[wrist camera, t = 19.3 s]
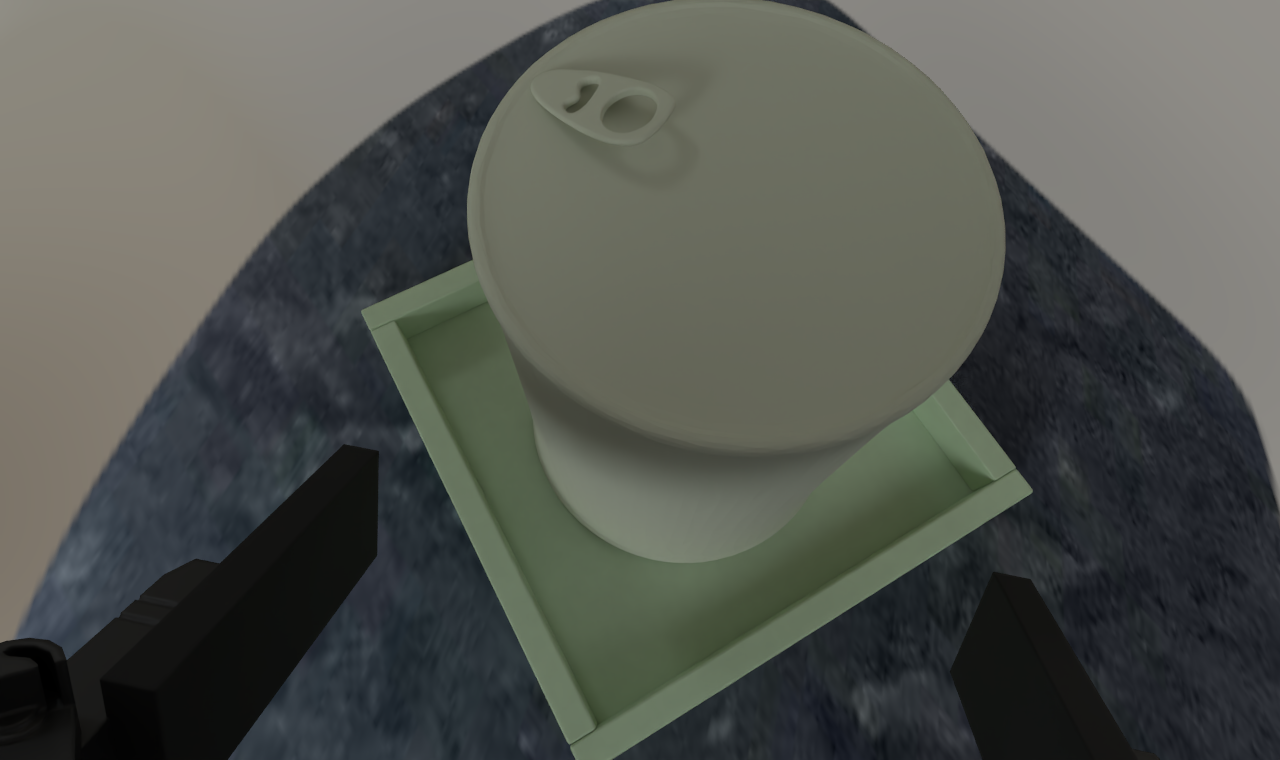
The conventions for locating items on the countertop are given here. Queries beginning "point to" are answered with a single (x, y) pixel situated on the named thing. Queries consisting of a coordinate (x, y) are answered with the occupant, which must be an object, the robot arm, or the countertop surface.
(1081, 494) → the countertop surface
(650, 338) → the can
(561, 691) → the tray
